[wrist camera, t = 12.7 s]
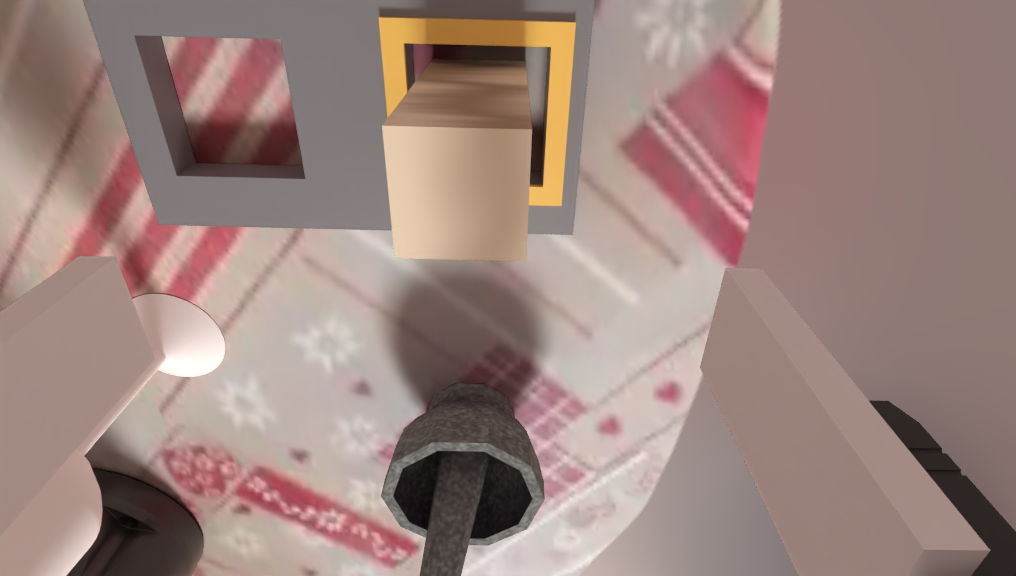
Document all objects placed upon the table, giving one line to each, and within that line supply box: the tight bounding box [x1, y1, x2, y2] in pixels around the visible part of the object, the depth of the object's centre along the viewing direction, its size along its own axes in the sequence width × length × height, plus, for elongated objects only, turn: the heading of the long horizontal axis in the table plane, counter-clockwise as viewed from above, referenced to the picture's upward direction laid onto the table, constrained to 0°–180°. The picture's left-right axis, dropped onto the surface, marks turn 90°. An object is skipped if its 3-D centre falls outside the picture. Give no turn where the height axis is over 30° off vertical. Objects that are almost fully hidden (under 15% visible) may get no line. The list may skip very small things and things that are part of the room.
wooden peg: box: [382, 59, 532, 261], centre depth 23 cm, size 4×4×12 cm
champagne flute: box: [0, 294, 225, 576], centre depth 25 cm, size 7×7×24 cm
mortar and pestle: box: [381, 383, 545, 576], centre depth 34 cm, size 11×9×12 cm
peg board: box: [83, 0, 595, 235], centre depth 27 cm, size 22×12×2 cm, turn 89°
